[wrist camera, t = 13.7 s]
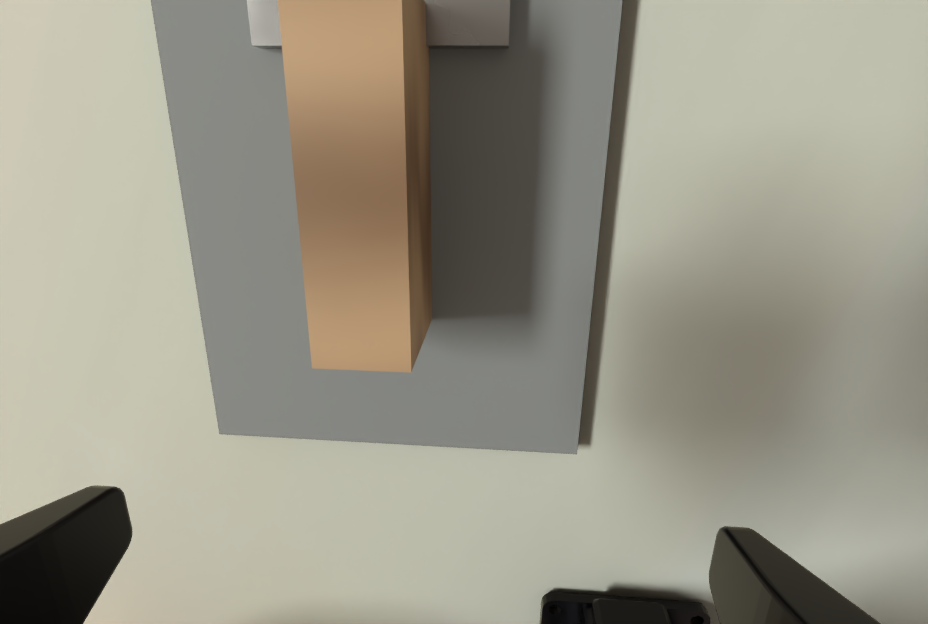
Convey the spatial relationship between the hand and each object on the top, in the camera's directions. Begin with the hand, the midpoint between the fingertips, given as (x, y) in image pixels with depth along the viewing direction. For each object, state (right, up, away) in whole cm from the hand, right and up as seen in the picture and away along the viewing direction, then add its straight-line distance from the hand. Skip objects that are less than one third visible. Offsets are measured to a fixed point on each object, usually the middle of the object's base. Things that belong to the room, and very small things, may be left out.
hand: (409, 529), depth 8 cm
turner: (-1, +10, +7) cm, 12 cm away
